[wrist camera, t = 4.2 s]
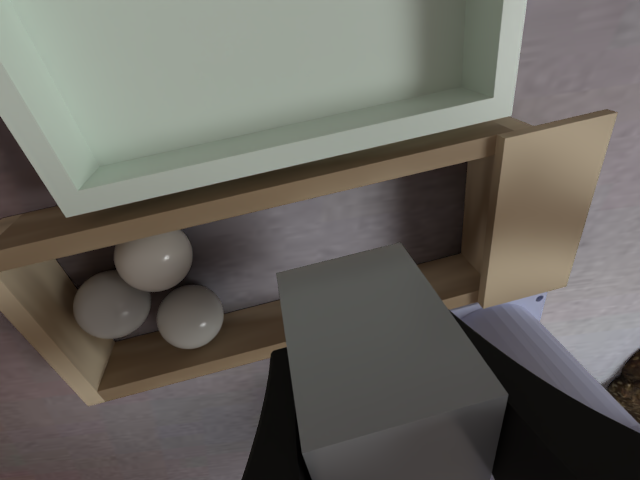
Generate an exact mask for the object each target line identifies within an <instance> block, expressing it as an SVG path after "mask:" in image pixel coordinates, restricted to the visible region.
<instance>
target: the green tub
mask: <svg viewBox="0 0 640 480" xmlns="http://www.w3.org/2000/svg"><path fill="white" fill-rule="evenodd" d="M526 5H527V0H0V116H1V118H2V119H3V121H4V122H5V124H6V126H7V127H8V129H9V130H10V132H11V133H12V135H13V136H14V138H15V139H16V141H17V143H18V144H19V146H20V147H21V149H22V150H23V152H24V153H25V155H26V156H27V158H28V160H29V161H30V163H31V164H32V166H33V167H34V169H35V170H36V172H37V174H38V175H39V177H40V178H41V180H42V181H43V183H44V184H45V186H46V187H47V189H48V191H49V192H50V194H51V195H52V197H53V198H54V200H55V201H56V203H57V204H58V206H59V208H60V209H61V211H62V212H63V214H64V215H65V217H66V218H67V217H72V216H76V215H81V214H85V213H89V212H94V211H98V210H102V209H107V208H111V207H115V206H120V205H124V204H129V203H133V202H137V201H142V200H146V199H150V198H155V197H159V196H163V195H168V194H172V193H177V192H181V191H185V190H190V189H194V188H198V187H203V186H207V185H211V184H216V183H220V182H225V181H229V180H233V179H238V178H242V177H246V176H251V175H255V174H259V173H264V172H268V171H273V170H277V169H281V168H286V167H290V166H294V165H299V164H303V163H307V162H312V161H316V160H321V159H325V158H329V157H334V156H338V155H342V154H347V153H351V152H356V151H360V150H364V149H369V148H373V147H377V146H382V145H386V144H390V143H395V142H399V141H404V140H408V139H412V138H417V137H421V136H425V135H430V134H434V133H438V132H443V131H447V130H452V129H456V128H460V127H465V126H469V125H473V124H478V123H482V122H486V121H491V120H495V119H500V118H504V117H508V116H512V109H513V101H514V94H515V87H516V79H517V72H518V64H519V57H520V49H521V42H522V35H523V27H524V20H525V12H526Z"/></svg>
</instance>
